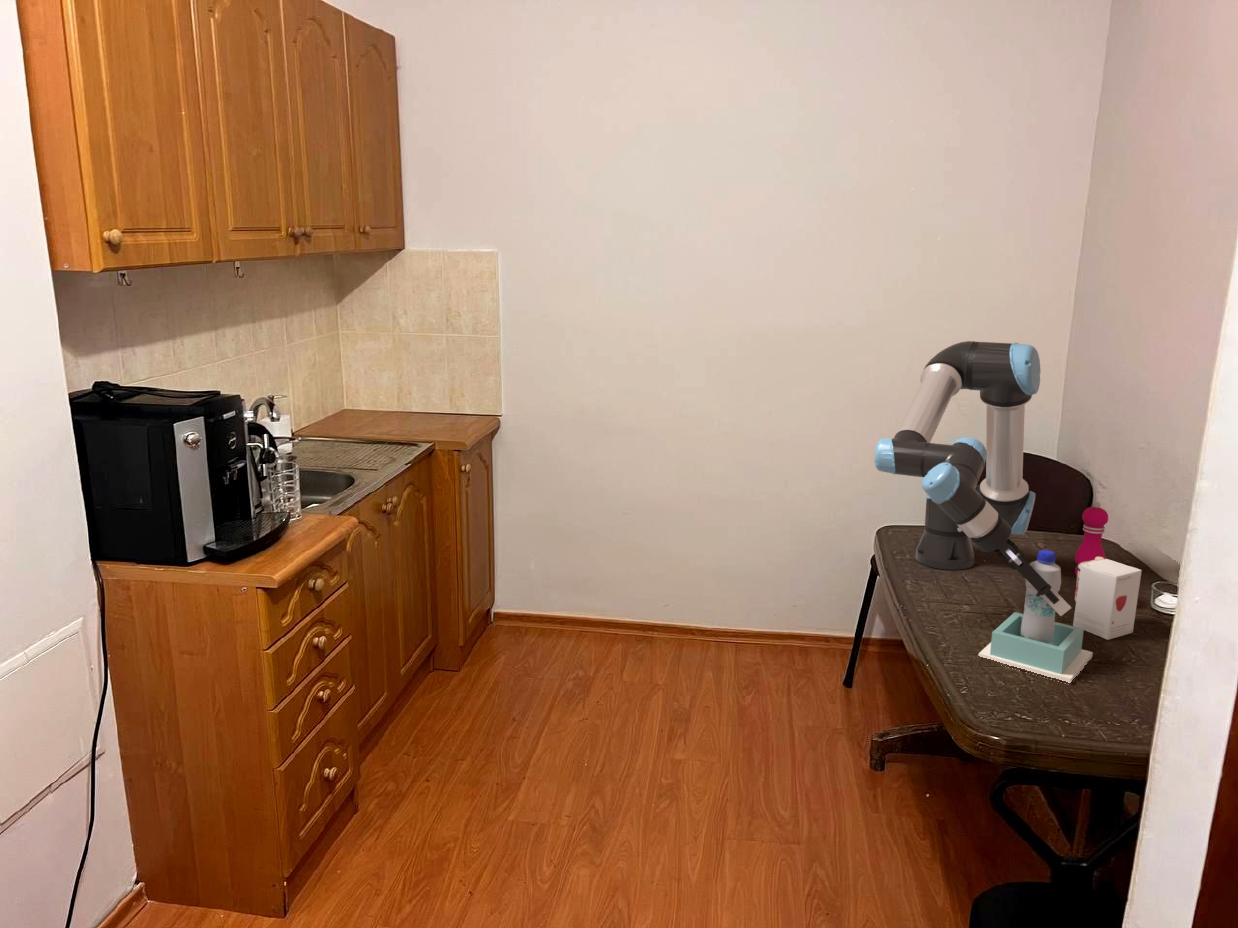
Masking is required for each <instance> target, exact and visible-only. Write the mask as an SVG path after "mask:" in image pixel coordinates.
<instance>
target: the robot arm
mask: <svg viewBox="0 0 1238 928" xmlns="http://www.w3.org/2000/svg"><path fill="white" fill-rule="evenodd" d="M1040 385H1041V361H1040V355H1039V352H1038V350H1037V349H1036V348H1035V346H1033V345H1032V344H1022V343H1018V342H1012V343H1011V342H1010V343H1009V342H1008V343H1007V342H993V341H992V342H991V341H990V342H989V341H976V340H974V341H973V340H968V341H967V340H966V341H961V342H957V343H954V344H952V345H949V346H948V347H946V348H944V349H941V351H939V352H938V353H937V354H935V355H934V356H932V358H930V360H929V361H928V362H927V363H926V364H925V366H924V368H923V370H922V372H921V374H920V385H919V388H918V389H917V391H916V393H915V395H914V397H913V399H912V401H911V403H910V405H909V407H908V409H907V411H906V413H905V415H904V416H903V418H902V421H901V423H900V425H899V427H898V429H897V430H896V432H895V435H894V436H893V438H891V437H889V438H888V437H885V438H880V439H879V440H878V441H877V443H876V445H875V449H874V450H875V451H874V464H875V465H874V466H875V467H876V469H877V470H878V471H879V472H882V473H887V474H892V475H901V476H907V477H916V478H917V477H918V478H922V481H921V488H922V490H923V491H925V494H926V496H925V498H926V503H925V516H924V529H923V533H922V535H921V538H920V540H919V543H918V544H917V547H916V549H915V558H914V559H915V560H916V561H917V562H918V563H920V564H922V565H924V566H926V567H931V568H934V569H940V570H950V571H951V570H952V571H953V570H954V571H959V570H966V569H969V568H972V567H973V566H974V564H975V553H974V548H973V545H972V542H973V544H974V545H975V546H976V547H977V548H978V549H979V550H980V551H981V552H983V553H991V552H995V553H996V555H997V556H998V557H999V558H1000V559H1001V560H1002V561H1005V562H1006V563H1007V564H1008V565H1009V566H1010V567H1011V568H1012V569H1013V570H1017V572H1018V573H1020V575H1021V576H1022V577H1023V579H1025V580H1026V579H1027V581H1028V582H1029V583H1030V584H1031V585H1032V586H1033V587H1034V588H1035V589H1036V590H1037V591H1038V593H1037V594H1036V596H1037V597H1039V596H1040V595H1041V596H1042V597H1043V598H1044V599H1045V600H1046V601H1047V603H1048V604H1049V605H1050V606H1051V607H1052V608H1053V609H1054V610H1055V611H1056V613H1057V614H1058V615H1059V616H1060V617H1062V616H1063V615H1064V614H1066V613H1068V611H1069V610H1071V609H1072V607H1071V605H1070V604H1069V603H1067V601H1066V600H1065V599H1064V598H1063V597H1062V596H1061V595H1060V594H1059V592H1058V593H1057V592H1056V591H1055V590H1054V589H1053V588H1052V587H1051V585H1050V584H1048V583H1047V582H1046V581H1045V580H1044V579H1043V578H1042V577H1041V576H1040V575H1039V574H1038V573H1037V572H1036V571H1035V570H1034V569H1033V568H1032V567H1031V566H1030V565H1029V564H1030V563H1029V562H1028V561H1027V559H1028V558H1027V557H1026V555H1025V554H1024V553H1022V552H1021V551H1020V549H1019V546H1018V545H1016V544H1015V542H1014V541H1012V540H1011V538H1010V537H1011V535H1016V536H1022V535H1023V534H1025V533H1026V532H1027V530H1028V527H1029V523H1030V520H1031V518H1032V513H1033V510H1034V506H1035V502H1036V501H1035V500H1036V493H1035V492H1034V491H1032V490H1029V488H1030V487H1029V484H1028V481H1026V479H1024V478H1023V476H1024V474H1023V469H1024V440H1025V439H1024V437H1025V410H1026V409H1025V408H1026V407H1025V406H1026V404H1027V403H1029V402H1030V401H1031V400H1032V398H1033V396H1034V395H1036V394H1037V393H1038V392H1039V389H1040ZM960 390H969V391H979V399H980V400H981V402H982V403H983V404H985V405H986V427H985V428H986V430H985V431H986V438H985V439H986V445H984V444H983V443H982V442H981V441H980V440H979V439H976V438H974V437H968V436H965V437H960V438H957V439H956V440H955V441H954V442H953V443H952V444H945V443H944V444H942V443H935V442H933V443H932V439H933V437H934V436H935V432H936V431H937V428H938V427H939V425H940V422H941V421H942V418H943V416H944V414H945V412H946V409H947V408H948V405H949V403H950V401H951V399H952V397H954V396H956V395H957V394H958V393H959V392H960ZM985 446H986V447H985ZM985 467H986V469H985ZM984 469H985V472H986V473H985V478H984V479H983V480H982V481H981V482H980V484H978V482H979V480H980V477H981V476H982V473H983V471H984Z"/></svg>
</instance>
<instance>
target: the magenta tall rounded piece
mask: <svg viewBox="0 0 1238 928" xmlns="http://www.w3.org/2000/svg"><path fill="white" fill-rule="evenodd" d="M1108 514H1109V513H1108V512H1107V511H1106V509H1104V508H1102V507H1101V503H1100V501H1094V502H1093V504H1092V506H1089V507H1087V508H1086V509H1084V511H1083V512H1082V515H1081V517H1082V518H1081V519H1082V521H1083V523H1084V524H1083V528H1082V531H1084V532H1083V533H1084V534H1083V539H1082V541H1081V543H1080V544H1079V547H1078V549H1077V550H1076V552H1075V554H1074V561H1075V563H1076V566H1075V569H1074V570H1075V571H1074V574H1075V576H1077V575H1078V569H1077V567H1078V565H1079V564H1080V563H1082V562H1087V561H1091V560H1095V558H1096V557H1103V558H1104V559H1107V558H1106V554H1105V551H1104V548H1103V544H1102V541H1103V540H1102V539H1103V534H1105V529H1106V528H1105V525H1107V523H1108V521H1109V515H1108Z"/></svg>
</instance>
